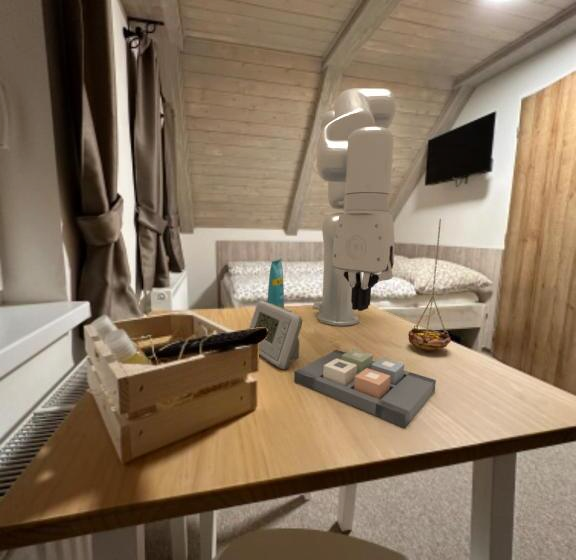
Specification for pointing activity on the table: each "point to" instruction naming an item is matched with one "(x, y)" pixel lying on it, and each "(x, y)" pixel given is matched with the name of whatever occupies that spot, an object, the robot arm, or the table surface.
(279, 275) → the tube
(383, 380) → the key terracotta
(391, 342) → the table surface
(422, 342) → the bird feeder
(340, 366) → the key ivory
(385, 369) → the key slate
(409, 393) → the keypad frame
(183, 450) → the table surface
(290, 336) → the digital clock
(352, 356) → the key sage
